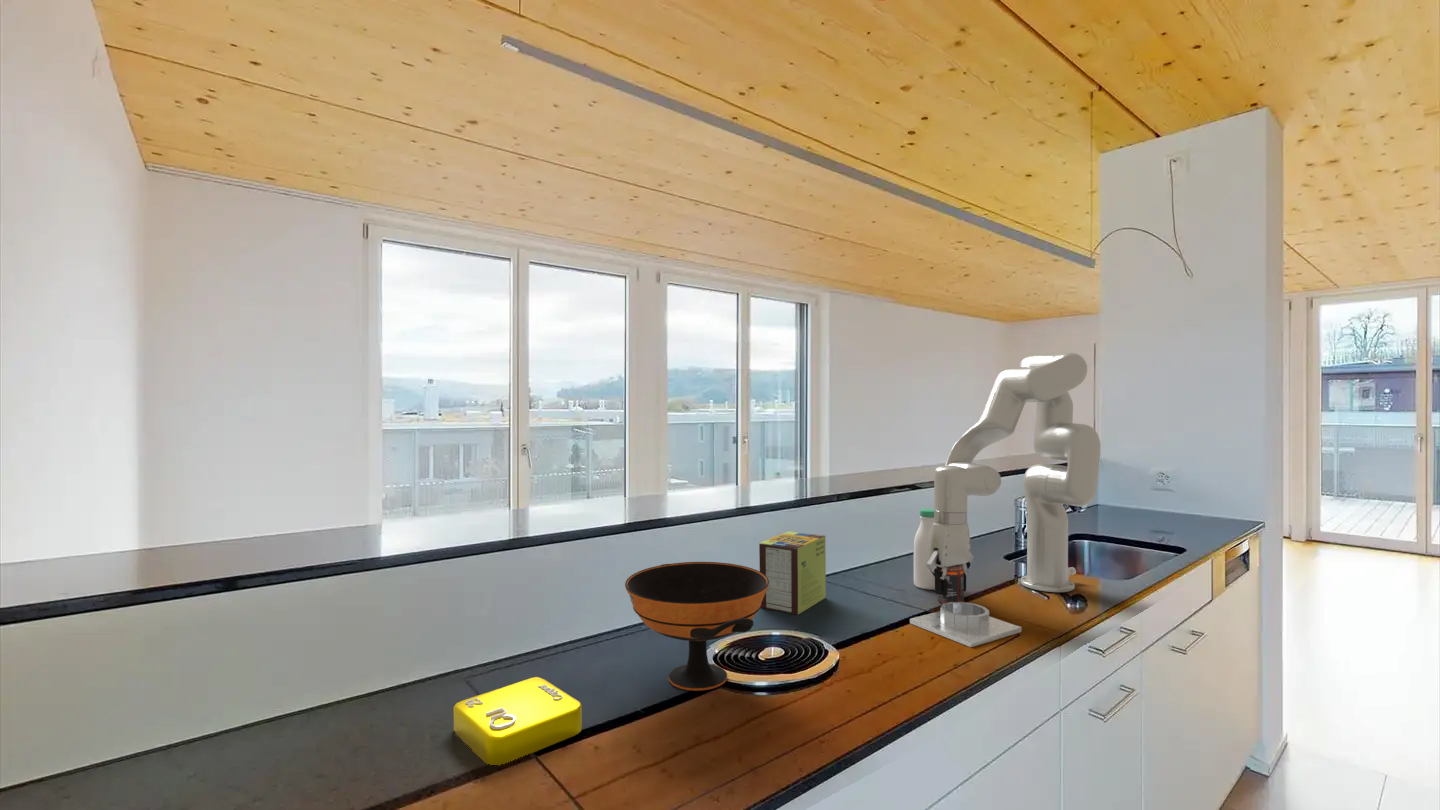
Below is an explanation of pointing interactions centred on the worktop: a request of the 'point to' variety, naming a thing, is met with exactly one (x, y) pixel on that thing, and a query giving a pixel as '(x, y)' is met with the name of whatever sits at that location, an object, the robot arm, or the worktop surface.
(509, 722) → the element tile
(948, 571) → the supplement bottle
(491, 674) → the worktop surface
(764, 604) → the protein box
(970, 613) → the duct flange
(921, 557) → the milk bottle
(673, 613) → the greek kylix
